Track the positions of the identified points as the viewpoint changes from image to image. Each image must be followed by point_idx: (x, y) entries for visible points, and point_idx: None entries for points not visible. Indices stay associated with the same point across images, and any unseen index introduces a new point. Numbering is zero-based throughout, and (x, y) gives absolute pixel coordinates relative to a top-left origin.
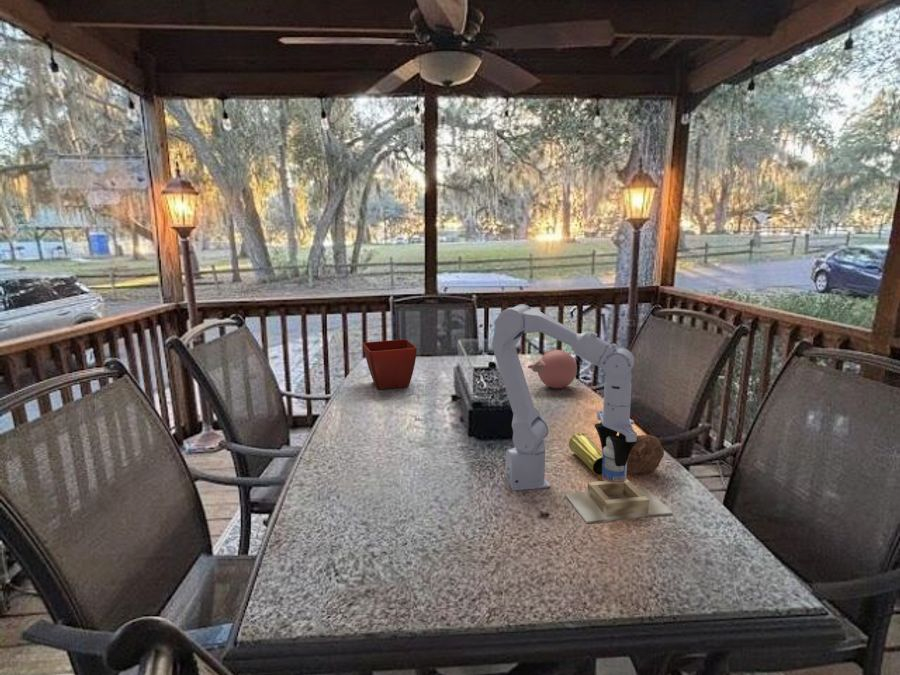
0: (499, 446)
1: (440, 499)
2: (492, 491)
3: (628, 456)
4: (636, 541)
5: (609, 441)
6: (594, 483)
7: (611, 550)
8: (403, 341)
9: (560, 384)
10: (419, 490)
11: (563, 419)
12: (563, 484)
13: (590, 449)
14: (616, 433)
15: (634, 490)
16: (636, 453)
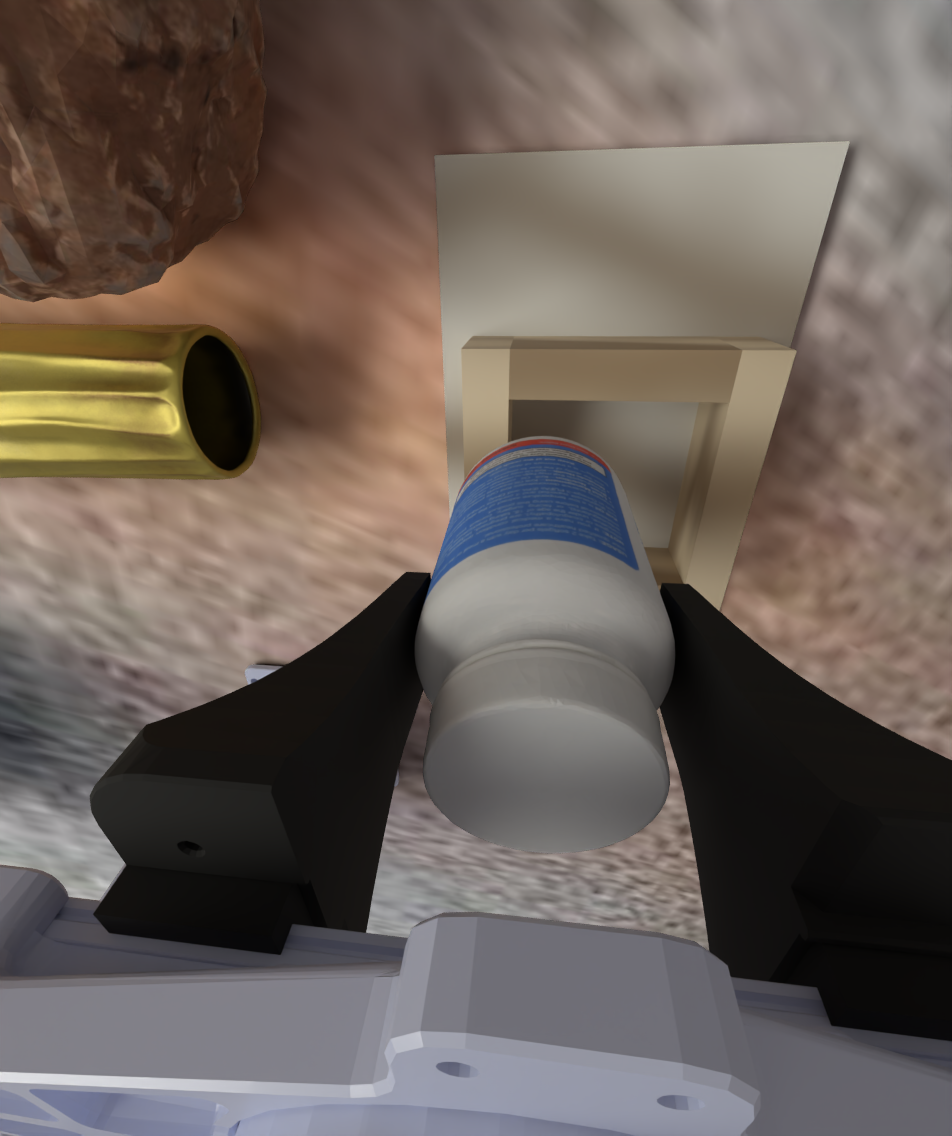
0: (6, 708)
1: (424, 914)
2: (392, 821)
3: (741, 631)
4: (932, 542)
5: (575, 849)
6: None
7: (913, 661)
8: None
9: None
10: (370, 932)
11: None
12: (354, 613)
13: (54, 450)
14: (351, 703)
15: (637, 386)
16: (142, 78)
